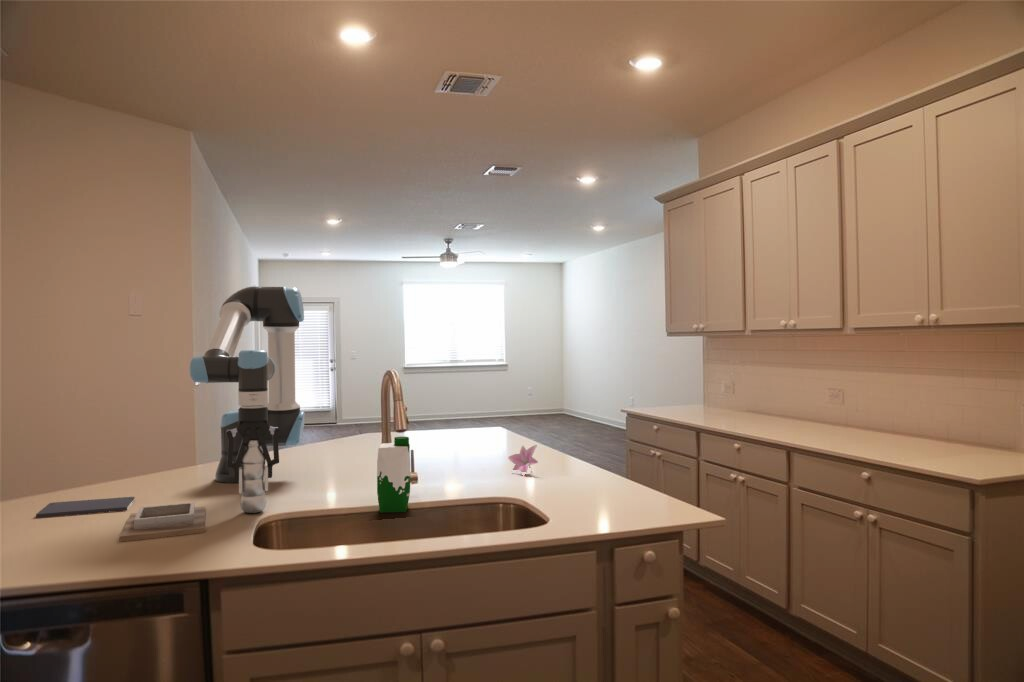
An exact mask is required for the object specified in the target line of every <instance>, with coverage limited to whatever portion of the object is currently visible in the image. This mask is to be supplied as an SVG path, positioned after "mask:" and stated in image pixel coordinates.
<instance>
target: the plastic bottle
mask: <svg viewBox="0 0 1024 682" xmlns="http://www.w3.org/2000/svg"><path fill="white" fill-rule="evenodd" d="M259 446H261V444H260V441H259V440H248V442H247V445H246V447H247V448H246V450H245V451H244V454H243V457H242V460H241V468H242V478H243V482H242V493H241V498H240V508H241V510H242V512H243V513H249V514H257V513H259V512H260V513H261V512H263V511H264V510H265V509H266V506H267V496H266V491H265V489H264V468H265V466H266V458H265V455H264V453H263V450H262V448H260V447H259Z"/></svg>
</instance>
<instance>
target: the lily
mask: <svg viewBox="0 0 1024 682" xmlns="http://www.w3.org/2000/svg"><path fill="white" fill-rule="evenodd" d="M537 447H538V445H537V444H535V445H532V446H531V447H528V448H527V449H526V447H525V446H524V445H521V448H520V450H519V453H515V454H511V455H509V456H508V457H507V459H508V460H509V461H510V463H513V464H514V466H513V468H512V470H518V471H519V472H520V471H521V472H526V473H527V472H528V468H529V469H530V468H531V469H532V467H531V465H535V464H538V463H539V462H538V460H537V459H536V458H535V457H533V455H534V453H535V451H536V448H537ZM521 472H520V473H521Z"/></svg>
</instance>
